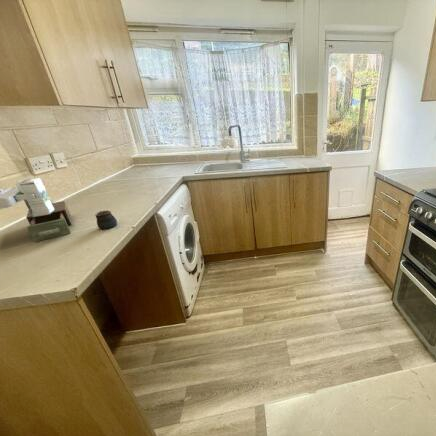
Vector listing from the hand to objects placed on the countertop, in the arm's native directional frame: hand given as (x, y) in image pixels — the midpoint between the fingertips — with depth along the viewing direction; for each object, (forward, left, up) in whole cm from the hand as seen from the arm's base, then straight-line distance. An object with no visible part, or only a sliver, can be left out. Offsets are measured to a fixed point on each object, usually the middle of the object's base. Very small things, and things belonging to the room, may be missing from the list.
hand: (38, 193), depth 99 cm
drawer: (-1, 0, -18) cm, 18 cm away
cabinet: (-1, +14, -19) cm, 23 cm away
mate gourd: (+18, -10, -19) cm, 28 cm away
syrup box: (-1, 0, -9) cm, 9 cm away
